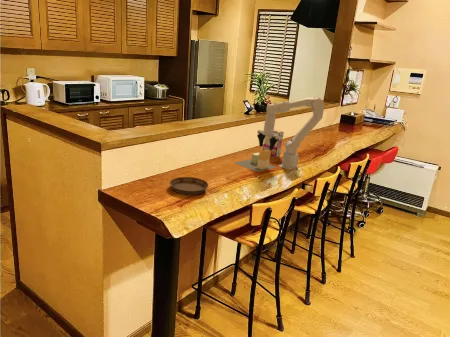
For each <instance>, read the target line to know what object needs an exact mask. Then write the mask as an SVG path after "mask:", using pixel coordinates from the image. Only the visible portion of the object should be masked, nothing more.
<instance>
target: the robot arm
mask: <svg viewBox="0 0 450 337" xmlns="http://www.w3.org/2000/svg"><path fill="white" fill-rule="evenodd" d="M304 106H306V107H308V108H311V109H312V116H311V117H310V118H309V119H308V120H307V122H306V123H304V125H302V127H301V129H299V131H298V132H296V134H295V135H294V136H292V138H290V139H288V140H287V141H286V142H285V143H284V146H285V150H283V154H282V162H281V164H279V165H278V167H280V168H282V169H286V170H293V169H297V168H299V166H298V163H299V154H298V152H297V150H298V148H299V147H300V145H301V143H302V142H303V141H304V140H305V139H306V137H307V136H308V135H309V134H310V132H312V130H313V129H314V128H315V127H316V126H317V124H319V122H320V121H321V120H322V119H323V116H324V110H325V108H326V107H325V103H324V101H323V99H322V98H321V97H319V96H313V97H312V96H311V97H305V98H302V99H298V100H295V101H294V100H293V101H291V102H289V101H287V100H286V101H285V100H282V101H281V102H274V104H273V103H271V104H268V105H267V106H266V109H265V110H266V114H265V117H264V118H265V119H264V125H263V126H264V127H263V130H261V129H257V135H256V136H257V140H258V143H259V144H258V145H259V147H260V148H261V147H262V148H263V146H264V139H265V136H269V137H272V138H270V150H273V147H274V145H275V143H276V142H277V141H278V139H279V136H278V135H276V134H274V133H273V132H274V130H275V123H276V115H277V114H282V113H285V112H289V111H291V109H294V108H300V107H304Z"/></svg>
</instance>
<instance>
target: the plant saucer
mask: <svg viewBox="0 0 450 337" xmlns="http://www.w3.org/2000/svg"><path fill="white" fill-rule="evenodd" d="M169 185H170V187H171V188H172V190H173V191H175V192H176V193H178V194H182V195H186V194H187V195H188V196H191V195H195V196H196V195H199V194H202V193H203V192H205V190H207V188H208V187H209V183H208V182H207V180H206V181H205V180H204V179H202V178H197V177H192V176H181V177H175V178H173V179H171V180H170V181H169Z"/></svg>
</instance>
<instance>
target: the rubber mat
mask: <svg viewBox="0 0 450 337" xmlns="http://www.w3.org/2000/svg"><path fill="white" fill-rule="evenodd" d="M233 163H234V164H235V165H239V166H241V167H243V168H245V169H248V170H251V171H253V172H256V173H259V172H263V171H267V170H271V169H275V168H276V169H277V166H275V165H272V164H270V163H269V167H268V168H266V169H259V168H257V164H258V163H256V164H255V163H253V162H251V159H246V160H245V159H244V160H240V161H235V162H233Z"/></svg>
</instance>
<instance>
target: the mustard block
mask: <svg viewBox="0 0 450 337" xmlns="http://www.w3.org/2000/svg"><path fill="white" fill-rule="evenodd" d="M258 153H259V160H262V161H265V160H271V156H270V154H271V151H269V150H263V149H261V150H259V152H258Z"/></svg>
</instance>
